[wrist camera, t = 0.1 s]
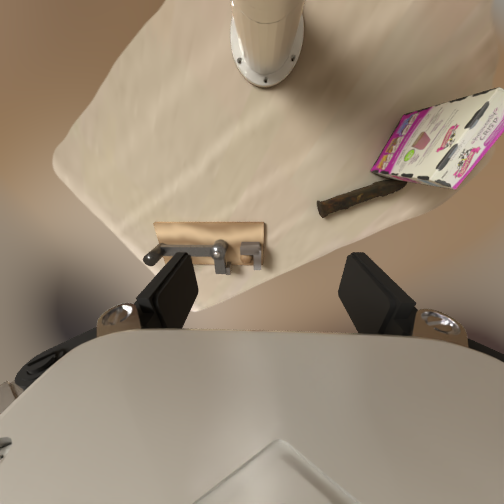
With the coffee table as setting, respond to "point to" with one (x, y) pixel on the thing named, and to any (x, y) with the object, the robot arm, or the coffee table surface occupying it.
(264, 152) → the coffee table surface
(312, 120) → the coffee table surface
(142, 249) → the coffee table surface
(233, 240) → the tan wooden panel
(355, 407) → the robot arm
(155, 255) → the lever
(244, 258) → the walnut
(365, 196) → the hand tool
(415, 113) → the candy bar box
